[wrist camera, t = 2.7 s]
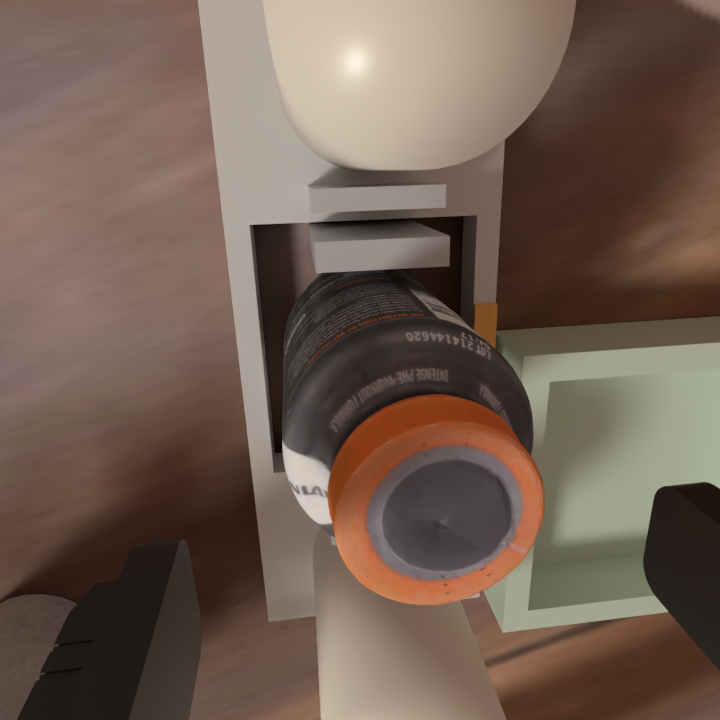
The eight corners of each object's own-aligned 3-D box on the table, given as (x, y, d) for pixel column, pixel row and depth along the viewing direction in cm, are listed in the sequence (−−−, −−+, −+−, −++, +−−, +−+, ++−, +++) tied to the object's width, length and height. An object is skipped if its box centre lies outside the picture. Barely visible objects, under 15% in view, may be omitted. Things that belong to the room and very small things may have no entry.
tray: (776, 312, 22) (847, 333, 19) (718, 552, 26) (770, 599, 23) (492, 331, 21) (523, 356, 18) (478, 580, 25) (502, 632, 22)
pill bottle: (284, 411, 21) (275, 663, 10) (283, 258, 19) (271, 371, 8) (434, 409, 21) (572, 641, 11) (448, 261, 20) (632, 369, 9)
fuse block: (496, -21, 17) (728, -240, 8) (468, 572, 24) (569, 802, 16) (202, -22, 16) (85, -271, 7) (270, 594, 24) (256, 851, 15)
